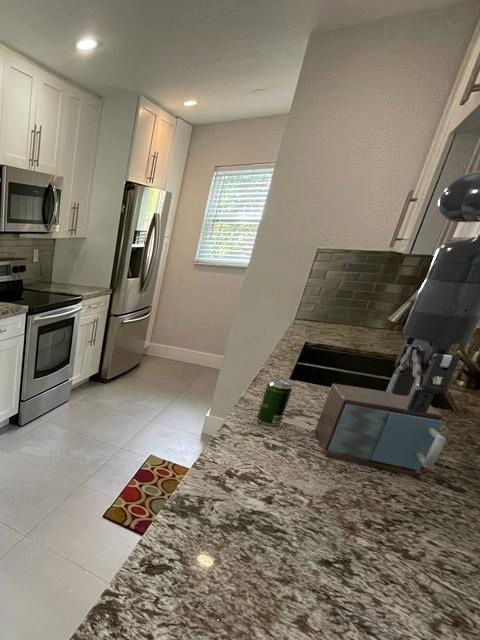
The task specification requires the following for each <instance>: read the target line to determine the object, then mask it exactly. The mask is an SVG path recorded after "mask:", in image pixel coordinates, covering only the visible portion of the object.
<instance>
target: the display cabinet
mask: <svg viewBox="0 0 480 640" xmlns="http://www.w3.org/2000/svg"><path fill="white" fill-rule="evenodd" d="M410 399H411V395H407V396H402V395H395V394H393V393H392V392H386V390H378V389H372V388H365V387H359V386H353V385H345V384H340V383H332V384H331V386H330V389H329V391H328V394H327V397H326V400H325V402H324V405H323V408H322V411H321V413H320V416H319V418H318V421H317V424H316V427H315V429H314V432H313V433H314V435H315V439H316V440H317V442H318V444H319V446H320V448H321V450H322V452H323V454H324V456H325V457H326V458H330V459H334V460H335V459H336V460H339V461H342V462H343V461H344V462H349V463H354V464H356V465H363V466H367V467H370V468H371V467H372V468H375V469H381V470H384V471H389V472H394V473H399V474H403V475H408V476H413V477H417V478H419V477H421V476H420V475H421V472H420V470H414V469H410V468H405V467H400V466H396V465H391V464H386V463H382V462H377V461H372V460H371V459H370V458H371V456H372V454H373V451H374V449H375V447H376V444H377V442H378V440H379V438H380V435H381V433H382V431H383V428H384V426H385V424H386V421H387V419H388V417H389V415H390V412H394V413H400V414H406V415H411V416H417V417H423V418H429V419H435V420H441V421H442V419H443V417H444V415H443V414H442V413H441V412H439V411H438V410H437V409H436V408H435V407H433V406H432V405H431V404H430V406H429V408H428V410H427V412H426V413H417V412H411V411H409V410H408V409H407V406H408V404H409V401H410Z"/></svg>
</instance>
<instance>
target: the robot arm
mask: <svg viewBox="0 0 480 640" xmlns="http://www.w3.org/2000/svg"><path fill="white" fill-rule="evenodd" d="M437 209H438V211H439V214H440V215H441V216H442V217H443V218H444V219H446V220H448V221H451V222H456V223H480V170H477V171H471V172H468V173H466V174H463V175H461V176H459V177H458V178H456V179H454V180H453V181H452V182H450V183H449V184H448V185H446V187H445V188H444V189H443V191H442V192H441V194H440V195H439V198H438V201H437ZM479 322H480V232H479V233H478V234H477V235H475V236H471V237H467V238H457V239H453V240H448V241H446V242H443V243H442V244H440V246H439V247H438V248H437V250H436V251H435V254H434V257H433V259H432V262H431V264H430V267H429V269H428V272H427V275H426V277H425V279H424V282H423V283H422V285H421V287H419V290H418V292H417V294H416V296H415V299H414V302H413V304H412V307H411V310H410V311H409V315H408V317H407V319H406V322H405V325H404V327H403V329H402V333H403V335H404V336H406V337H405V338H404V342H403V344H402V346H401V348H400V351H399V353H398V356H397V358H396V360H395V362H394V367H395V368H396V369H397V373H399V374H398V375H397V377H396V380H395V382H394V385H393V387H392V390H391V392H392V393H393V394H395V395H402V396H407V395H409V393H410V391H411V388H412V386H413V383H414V381H415V379H416V385H415V389H414V392H413V394H412V396H411V399H410V401H409V404H408V406H407V409H408V410H409V411H411V412H417V413H426V412H427V410H428V408H429V406H430V405H431V404H432V402H433V399H434V397H435V394H438V393H442V394H444V393H446V392H447V390H448V387H449V385H450V383H451V380H452V378H453V375H454V372H455V370H456V367H457V366H458V363H459V361H460V356H459V354H458V355H457V354H451V353H450V352H451V351H450V350H451V346H452V345H455V344H466V343H469V342H470V341H471V340H472V338H473V336H474V333H475V331H476V329H477V327H478V324H479ZM431 382H432V383H431Z"/></svg>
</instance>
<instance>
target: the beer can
mask: <svg viewBox="0 0 480 640" xmlns="http://www.w3.org/2000/svg"><path fill="white" fill-rule="evenodd" d="M292 391H293V382H291V381H289V380H286V379H283V378H270V379H269V381H268V382H267V384H266V387H265V390H264V394H263V397H262V400H261V402H260V403H261V404H260V406H259V410H258V413H257V421H258V422H259V423H260V424H263V425H265V426H269V427H278V426H279V425H280V424H281V423H282V420H283V417H284V414H285V411H286V409H287V406H288V402H289V399H290V396H291V393H292Z"/></svg>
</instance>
